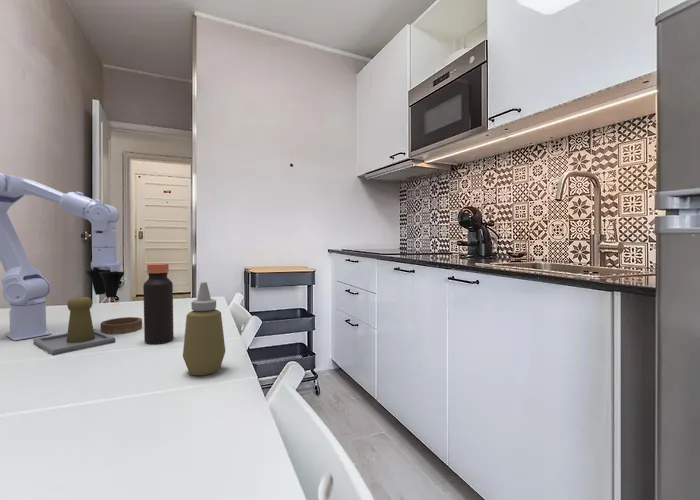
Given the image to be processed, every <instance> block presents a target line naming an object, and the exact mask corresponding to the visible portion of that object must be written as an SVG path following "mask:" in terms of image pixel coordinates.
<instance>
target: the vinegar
mask: <svg viewBox="0 0 700 500" xmlns="http://www.w3.org/2000/svg"><path fill="white" fill-rule="evenodd" d="M169 266H170V265H169V263H164V262H163V263H148V264H146V269H147V270H146V271H147V276H148V279H147V280H146V281H145V282H144V283H143V285H142V286H143V287H142V288H143V330H144V331H143V334H144V335H143V336H144V337H143V338H144V343H146V344H147V345H159V344H165V343H169V342H171V341H173V340H174V337H175V336H174V334H175V333H174V298H173V297H174V294H173V293H174V289H173V288H174V287H173V285H174V284H173V281H172V280H170V278H168V275H169Z"/></svg>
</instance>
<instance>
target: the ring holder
mask: <svg viewBox="0 0 700 500" xmlns="http://www.w3.org/2000/svg"><path fill="white" fill-rule="evenodd" d="M99 325H100V332H102V333H105V334H107V335H121V334H127V333H133V332H134V333H135V332H138V331H139V330H141V329H142V328H143V318H142V317H135V316H134V317H133V316H128V317H127V316H126V317H118V318H110V319H107V320H103V321H102V322H100V323H99Z"/></svg>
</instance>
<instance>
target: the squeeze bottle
mask: <svg viewBox="0 0 700 500" xmlns="http://www.w3.org/2000/svg"><path fill="white" fill-rule="evenodd" d="M190 303H191V311H189V312H188V313H187V314H186V318H185V328H184V329H185V330H184V340H183V347H182V348H183V350H182V357H183V361H184V363H185V365H186V368H187V371H188V373H189V375H192V376H208V375H212V374H215V373H217V372H218V371H220V370H221V366H222V364H223V361H224V357H225V354H226V344H225V336H224V326H223V320H222V319H223V318H222V312H221V311H220V310H219V309H217V300H216V299H213V298H211V294H210V289H209V286H208V282H205V281H203V282H200V284H199V288H198V294H197V298H196V299H193V300H192V301H191V302H190Z"/></svg>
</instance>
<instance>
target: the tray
mask: <svg viewBox="0 0 700 500" xmlns="http://www.w3.org/2000/svg"><path fill="white" fill-rule="evenodd" d="M93 330H94V335H95V339H93V340H91V341H87V342H81V343H67V342H66V341H67V333H68V332H65V333H61V334H60V333H59V334H54V335H53V334H52V335H47V336H41V337H35V338H33V345H35V346H36V347H38V348H40V349H41V350H43V351H44V352H46V353H48V354H49V355H51V356H55V355H60V354H65V353H70V352H75V351H79V350H84V349H90V348H95V347H99V346H104V345H108V344H109V345H110V344H114V343H116V337H114V336H112V335H111V334H105V333H102V332H101V330H100V331H99V330H97V329H95V328H93Z"/></svg>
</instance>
